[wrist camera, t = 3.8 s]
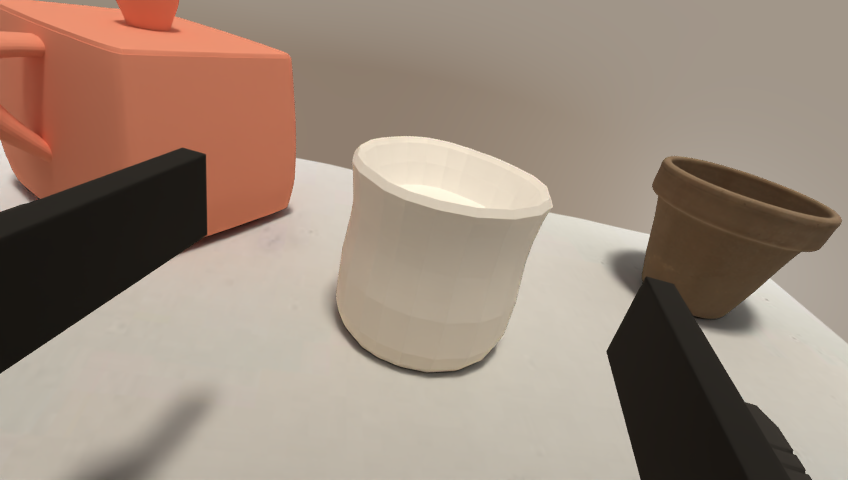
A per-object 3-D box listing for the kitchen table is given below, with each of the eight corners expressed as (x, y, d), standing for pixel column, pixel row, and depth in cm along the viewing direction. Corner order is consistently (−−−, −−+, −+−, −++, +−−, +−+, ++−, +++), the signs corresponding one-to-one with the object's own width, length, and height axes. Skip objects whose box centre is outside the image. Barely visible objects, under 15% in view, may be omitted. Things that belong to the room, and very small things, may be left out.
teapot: (337, 200, 39) (359, 27, 33) (35, 310, 21) (-46, -20, 15) (189, 131, 46) (183, -21, 40) (-127, 170, 29) (-229, -91, 22)
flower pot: (713, 273, 42) (773, 173, 37) (795, 356, 32) (891, 233, 27) (595, 248, 41) (641, 143, 37) (641, 324, 31) (712, 193, 27)
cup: (352, 261, 31) (373, 122, 26) (492, 292, 31) (538, 159, 27) (309, 355, 22) (330, 174, 18) (503, 397, 23) (571, 228, 18)
